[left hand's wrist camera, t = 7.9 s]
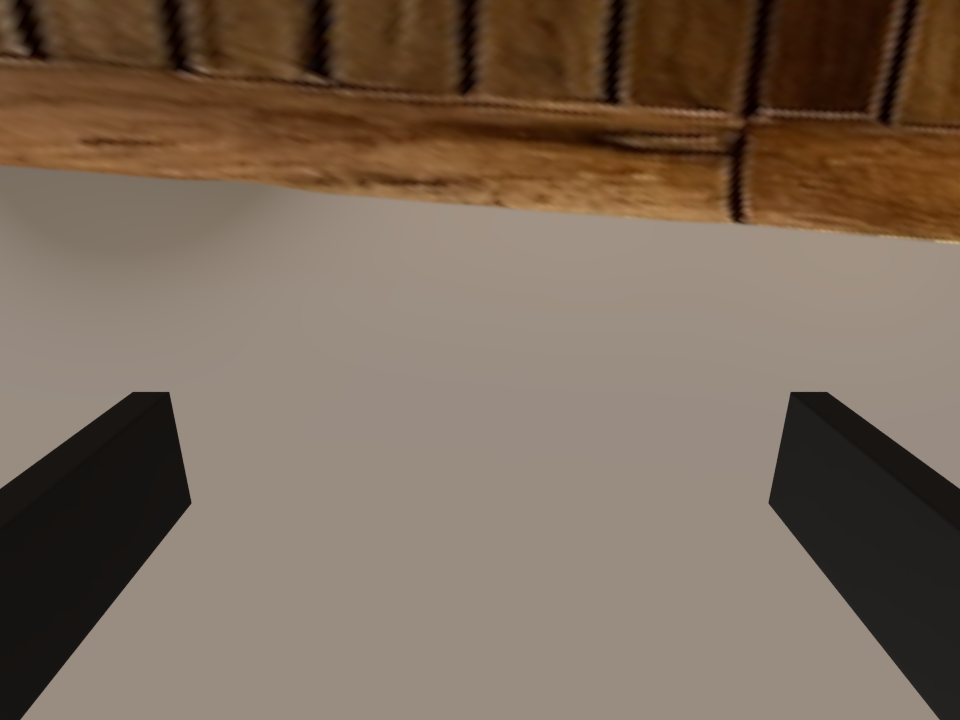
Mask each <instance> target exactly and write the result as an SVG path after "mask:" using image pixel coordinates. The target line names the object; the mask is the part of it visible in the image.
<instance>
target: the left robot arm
mask: <svg viewBox="0 0 960 720" xmlns="http://www.w3.org/2000/svg"><path fill="white" fill-rule="evenodd" d="M190 505H191V498H190V493H189V488H188V483H187V478H186V473H185V468H184V463H183V459H182V453H181V449H180V444H179V438H178V433H177V428H176V423H175V418H174V414H173V408H172V403H171V399H170V394H169V392H132V393H131V394H130V395H128V396H127V397H125V398H124V399H123V400H121V401H120V402H119V403H117V404H116V405H114V406H113V407H112V408H110V409H109V410H108V411H106V412H105V413H104V414H102V415H101V416H100V417H98V418H97V419H95V420H94V421H93V422H91V423H90V424H88V425H87V426H86V427H84V428H83V429H82V430H80V431H79V432H78V433H76V434H75V435H73V436H72V437H71V438H69V439H68V440H67V441H65V442H64V443H62V444H61V445H60V446H58V447H57V448H56V449H54V450H53V451H52V452H50V453H49V454H47V455H46V456H45V457H43V458H42V459H41V460H39V461H38V462H36V463H35V464H34V465H32V466H31V467H30V468H28V469H27V470H25V471H24V472H23V473H21V474H20V475H19V476H17V477H16V478H15V479H13V480H12V481H10V482H9V483H8V484H6V485H5V486H4V487H2V488H1V489H0V720H20V719H21V718H22V717H23V716H24V714H25V713H26V712H27V711H28V709H29V708H30V707H31V705H32V704H33V703H34V702H35V700H36V699H37V698H38V697H39V695H40V694H41V693H42V692H43V690H44V689H45V688H46V687H47V685H48V684H49V683H50V681H51V680H52V679H53V678H54V676H55V675H56V674H57V673H58V671H59V670H60V669H61V668H62V666H63V665H64V664H65V663H66V661H67V660H68V659H69V657H70V656H71V655H72V654H73V652H74V651H75V650H76V649H77V647H78V646H79V645H80V644H81V642H82V641H83V640H84V639H85V637H86V636H87V635H88V633H89V632H90V631H91V630H92V628H93V627H94V626H95V625H96V623H97V622H98V621H99V620H100V618H101V617H102V616H103V615H104V613H105V612H106V611H107V609H108V608H109V607H110V606H111V604H112V603H113V602H114V601H115V599H116V598H117V597H118V595H119V594H120V593H121V592H122V590H123V589H124V588H125V587H126V585H127V584H128V583H129V582H130V580H131V579H132V578H133V577H134V575H135V574H136V573H137V572H138V570H139V569H140V568H141V566H142V565H143V564H144V563H145V561H146V560H147V559H148V558H149V556H150V555H151V554H152V553H153V551H154V550H155V549H156V547H157V546H158V545H159V544H160V542H161V541H162V540H163V539H164V537H165V536H166V535H167V534H168V532H169V531H170V530H171V529H172V527H173V526H174V525H175V523H176V522H177V521H178V520H179V518H180V517H181V516H182V515H183V513H184V512H185V511H186V510H187V508H188V507H189V506H190ZM769 505H770V506H771V507H772V508H773V510H774V511H775V512H776V513H777V515H778V516H779V517H780V518H781V520H782V521H783V522H784V523H785V525H786V526H787V527H788V528H789V530H790V531H791V532H792V534H793V535H794V536H795V537H796V539H797V540H798V541H799V542H800V544H801V545H802V546H803V547H804V549H805V550H806V551H807V553H808V554H809V555H810V556H811V558H812V559H813V560H814V561H815V563H816V564H817V565H818V566H819V568H820V569H821V570H822V572H823V573H824V574H825V575H826V577H827V578H828V579H829V580H830V582H831V583H832V584H833V585H834V587H835V588H836V589H837V590H838V592H839V593H840V594H841V595H842V597H843V598H844V599H845V601H846V602H847V603H848V604H849V606H850V607H851V608H852V609H853V611H854V612H855V613H856V614H857V616H858V617H859V618H860V619H861V621H862V622H863V623H864V625H865V626H866V627H867V628H868V630H869V631H870V632H871V633H872V635H873V636H874V637H875V639H876V640H877V641H878V642H879V644H880V645H881V646H882V647H883V649H884V650H885V651H886V652H887V654H888V655H889V656H890V657H891V659H892V660H893V661H894V663H895V664H896V665H897V666H898V668H899V669H900V670H901V671H902V673H903V674H904V675H905V676H906V678H907V679H908V680H909V681H910V683H911V684H912V685H913V687H914V688H915V689H916V690H917V692H918V693H919V694H920V695H921V697H922V698H923V699H924V700H925V702H926V703H927V704H928V706H929V707H930V708H931V709H932V711H933V712H934V713H935V714H936V716H937V717H938V718H939V719H940V720H960V489H959V488H958V487H956V486H955V485H954V484H952V483H951V482H950V481H948V480H947V479H945V478H944V477H943V476H941V475H940V474H939V473H937V472H936V471H935V470H933V469H932V468H930V467H929V466H928V465H926V464H925V463H923V462H922V461H921V460H919V459H918V458H917V457H915V456H914V455H913V454H911V453H910V452H908V451H907V450H906V449H904V448H903V447H902V446H900V445H899V444H898V443H896V442H895V441H893V440H892V439H891V438H889V437H888V436H887V435H885V434H884V433H882V432H881V431H880V430H878V429H877V428H876V427H874V426H873V425H872V424H870V423H869V422H867V421H866V420H865V419H863V418H862V417H861V416H859V415H858V414H856V413H855V412H854V411H852V410H851V409H850V408H848V407H847V406H846V405H844V404H843V403H841V402H840V401H839V400H837V399H836V398H835V397H833V396H832V395H830V394H829V393H828V392H791V394H790V399H789V404H788V409H787V413H786V418H785V423H784V429H783V434H782V438H781V443H780V448H779V453H778V458H777V463H776V468H775V473H774V478H773V483H772V488H771V493H770V498H769Z"/></svg>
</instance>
